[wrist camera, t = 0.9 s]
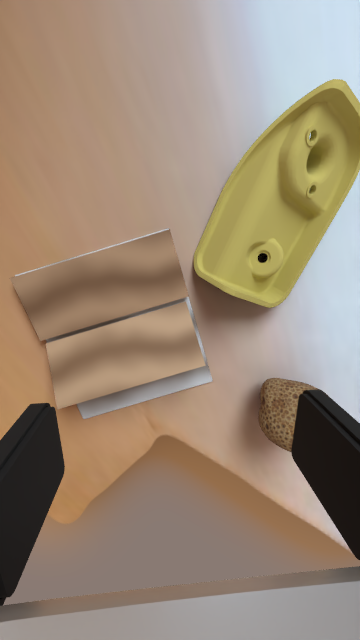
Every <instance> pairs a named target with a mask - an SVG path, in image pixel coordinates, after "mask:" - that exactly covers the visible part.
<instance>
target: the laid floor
mask: <svg viewBox="0 0 360 640" xmlns="http://www.w3.org/2000/svg"><path fill="white" fill-rule="evenodd" d="M10 280H11V282H12V284H13V286H14V288H15V290H16V292H17V294H18V296H19V298H20V300H21V302H22V304H23V306H24V309H25V311H26V313H27V315H28V317H29V319H30V321H31V323H32V325H33V327H34V329H35V331H36V333H37V335H38V337H39V339H40V341H42V340H46V342H47V343H49V342H53V341H56V340H59V339H63V338H66V337H69V336H73V335H76V334H79V333H83V332H86V331H89V330H92V329H96V328H99V327H102V326H106V325H109V324H112V323H116V322H119V321H122V320H126V319H129V318H132V317H136V316H139V315H142V314H146V313H149V312H152V311H156V310H159V309H162V308H166V307H169V306H172V305H176V304H179V303H182V302H186V303H187V306H188V309H189V313H190V316H191V319H192V322H193V326H194V329H195V332H196V336H197V339H198V342H199V345H200V349H201V352H202V355H203V358H204V362H205V365H206V366H203V367H199V368H196V369H192V370H189V371H186V372H182V373H179V374H176V375H172V376H169V377H165V378H162V379H159V380H155V381H152V382H149V383H145V384H142V385H138V386H135V387H132V388H128V389H125V390H122V391H118V392H115V393H111V394H108V395H105V396H101V397H98V398H95V399H91V400H88V401H84V402H81V403H78V404H77V407H78V409H79V411H80V413H81V415H82V417H83V419H86V418H90V417H93V416H97V415H100V414H103V413H107V412H110V411H113V410H117V409H120V408H124V407H127V406H130V405H134V404H137V403H141V402H144V401H147V400H151V399H154V398H158V397H161V396H164V395H168V394H171V393H174V392H178V391H181V390H185V389H188V388H191V387H195V386H198V385H202V384H205V383H208V382H212V381H213V380H212V377H211V373H210V370H209V366H208V363H207V359H206V356H205V353H204V349H203V346H202V342H201V339H200V335H199V332H198V328H197V325H196V321H195V318H194V314H193V311H192V307H191V304H190V300H189V297H188V296H189V295H188V292H187V288H186V285H185V281H184V278H183V274H182V271H181V267H180V264H179V260H178V257H177V253H176V250H175V246H174V243H173V239H172V236H171V232H170V229H169V228H168V229H165V230H162V231H158V232H155V233H152V234H148V235H145V236H142V237H139V238H135V239H132V240H129V241H126V242H122V243H119V244H116V245H113V246H109V247H106V248H103V249H99V250H96V251H93V252H90V253H86V254H83V255H80V256H77V257H73V258H70V259H67V260H64V261H60V262H57V263H54V264H51V265H47V266H44V267H41V268H37V269H34V270H31V271H28V272H24V273H21V274H18V275H15V277H12V278H10Z"/></svg>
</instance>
